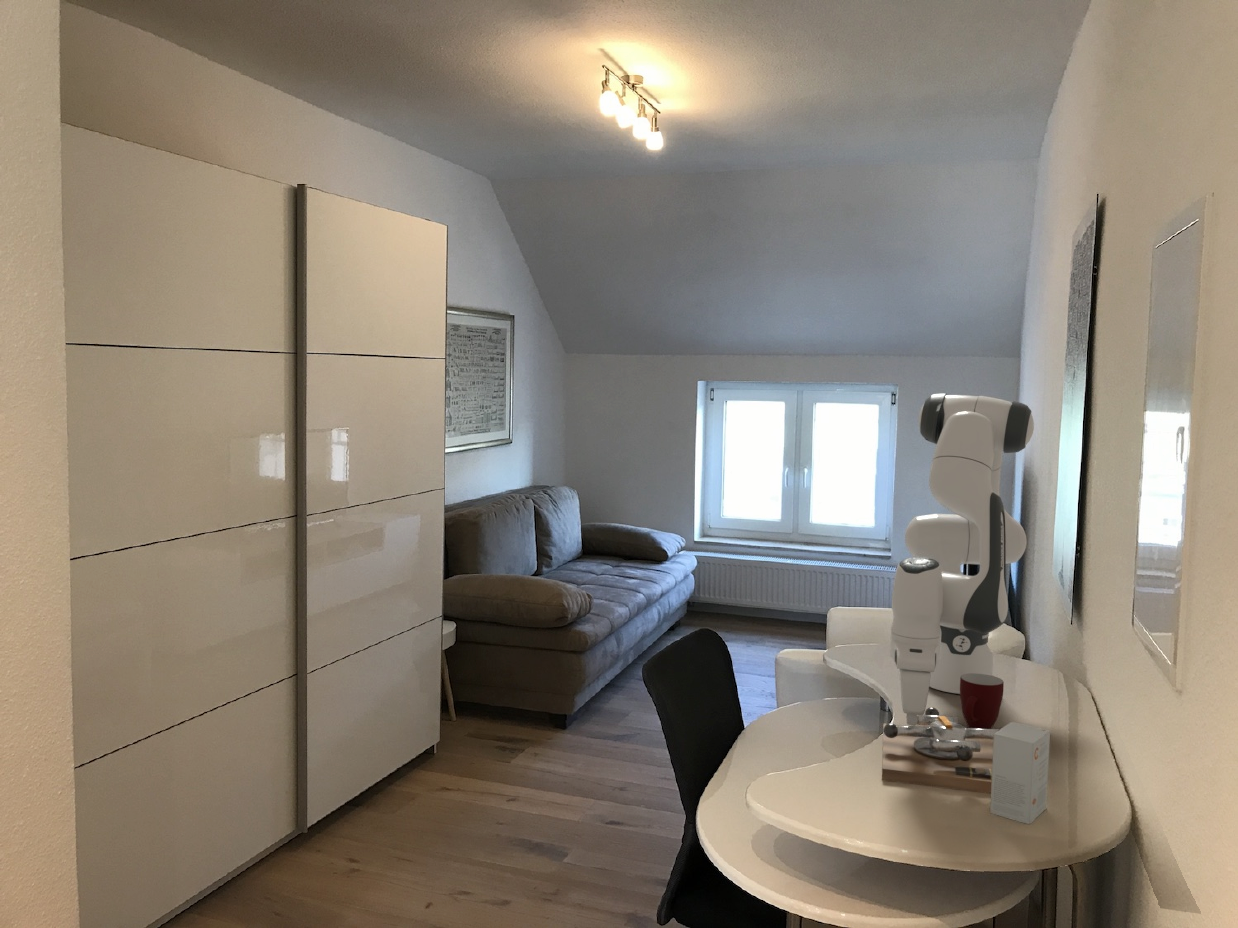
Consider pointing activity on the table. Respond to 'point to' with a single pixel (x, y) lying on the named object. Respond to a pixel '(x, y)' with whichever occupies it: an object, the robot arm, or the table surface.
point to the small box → (1020, 772)
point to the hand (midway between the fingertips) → (911, 722)
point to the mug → (981, 699)
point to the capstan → (942, 736)
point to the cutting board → (936, 766)
